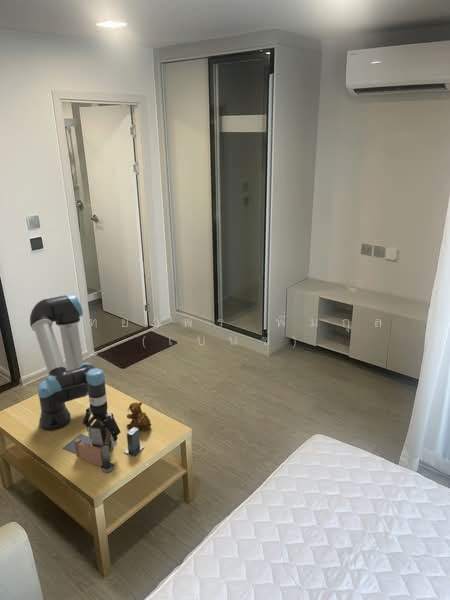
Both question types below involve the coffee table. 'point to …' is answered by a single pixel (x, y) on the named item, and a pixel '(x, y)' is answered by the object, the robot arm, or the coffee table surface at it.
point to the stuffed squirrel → (138, 417)
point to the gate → (88, 452)
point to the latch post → (133, 442)
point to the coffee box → (100, 435)
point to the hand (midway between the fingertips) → (103, 441)
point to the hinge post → (106, 460)
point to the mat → (71, 444)
